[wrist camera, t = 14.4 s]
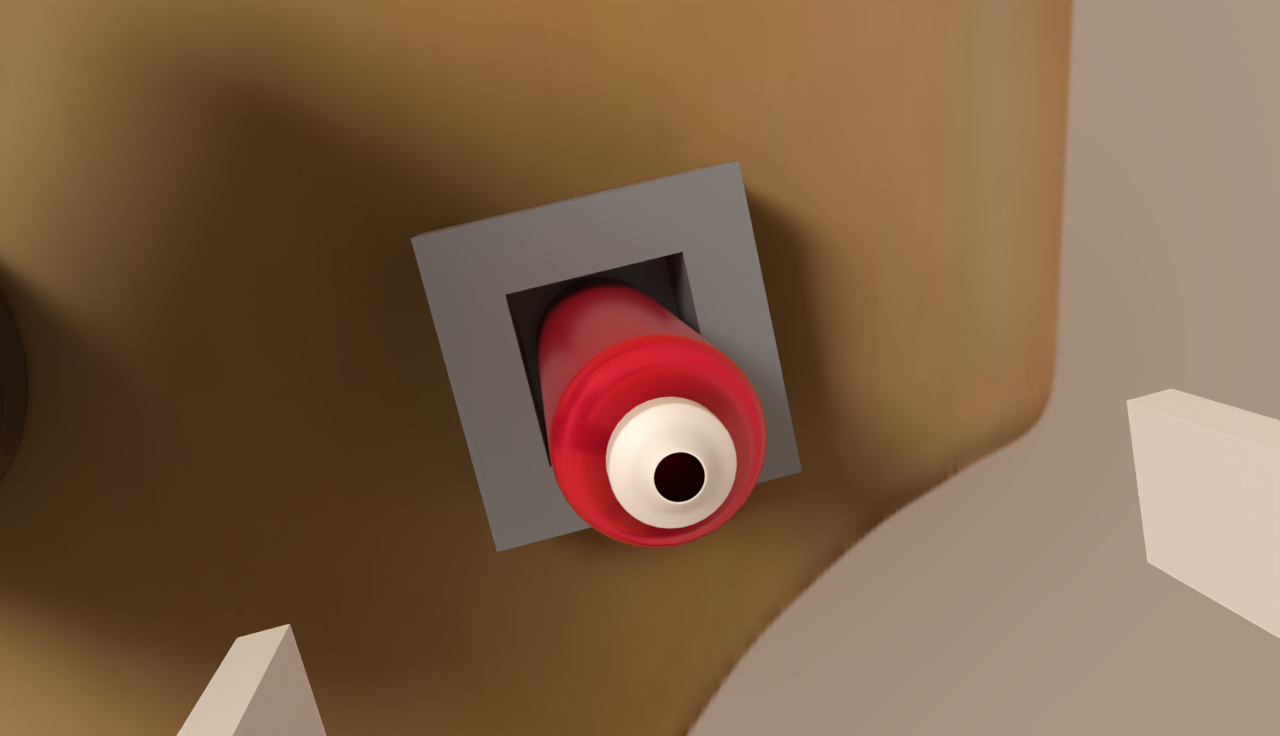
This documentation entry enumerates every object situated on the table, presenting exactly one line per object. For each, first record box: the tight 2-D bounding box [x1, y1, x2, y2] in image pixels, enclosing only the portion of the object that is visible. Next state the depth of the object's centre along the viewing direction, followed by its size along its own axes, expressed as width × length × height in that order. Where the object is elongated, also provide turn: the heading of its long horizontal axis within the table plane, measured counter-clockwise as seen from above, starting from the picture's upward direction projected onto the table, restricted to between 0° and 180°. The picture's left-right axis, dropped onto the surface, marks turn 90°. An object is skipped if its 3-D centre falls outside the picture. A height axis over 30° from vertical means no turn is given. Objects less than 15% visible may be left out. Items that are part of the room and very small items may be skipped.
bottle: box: [536, 277, 767, 548], centre depth 31 cm, size 6×5×20 cm
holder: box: [411, 161, 802, 552], centre depth 39 cm, size 12×12×6 cm
